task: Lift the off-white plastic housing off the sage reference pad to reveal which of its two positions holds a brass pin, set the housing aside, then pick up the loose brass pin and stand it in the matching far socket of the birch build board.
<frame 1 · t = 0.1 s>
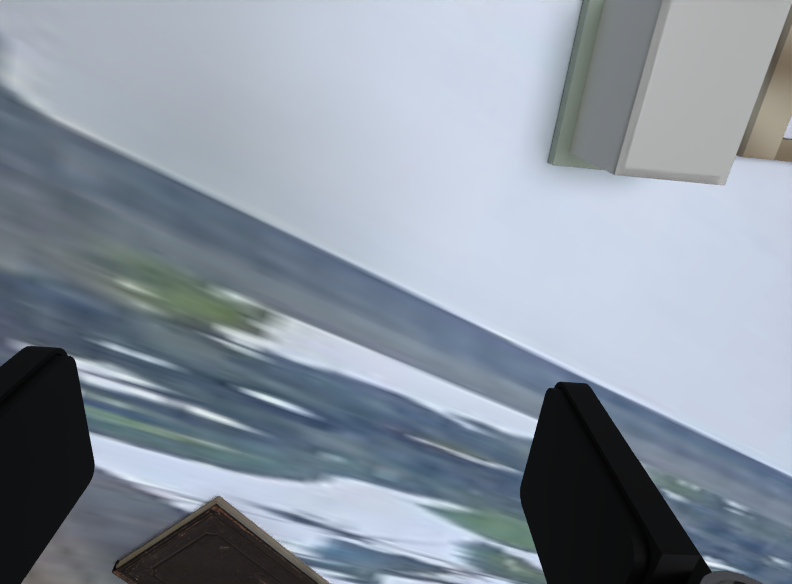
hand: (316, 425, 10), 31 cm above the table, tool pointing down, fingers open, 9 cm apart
housing: (633, 85, 36), point 1 cm above the table, touching reference pad
reference pad: (626, 85, 37), on the table
hardcover book: (244, 577, 59), on the table
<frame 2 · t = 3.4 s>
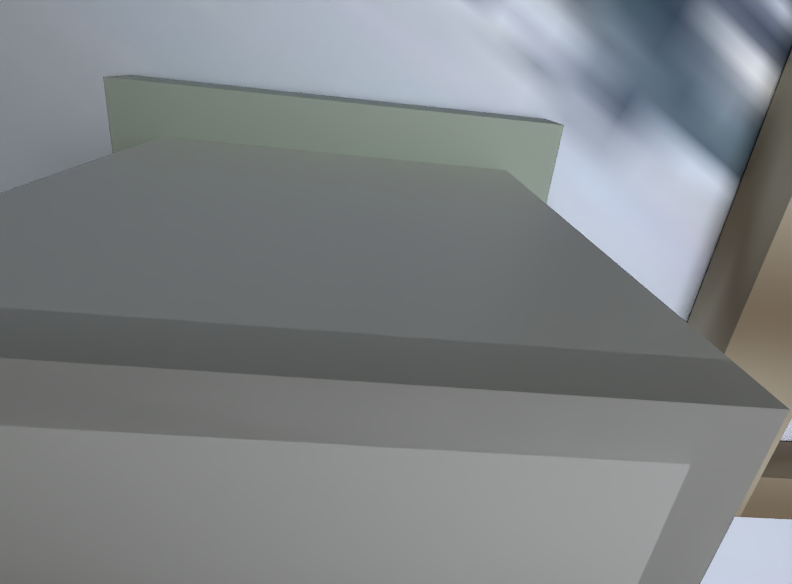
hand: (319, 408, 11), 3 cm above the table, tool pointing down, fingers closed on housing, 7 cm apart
housing: (327, 362, 12), point 1 cm above the table, touching gripper, reference pad
reference pad: (331, 337, 13), on the table
when the fingers open (3 cm above the table, at t = 8.9 s): housing drops 1 cm, on the table.
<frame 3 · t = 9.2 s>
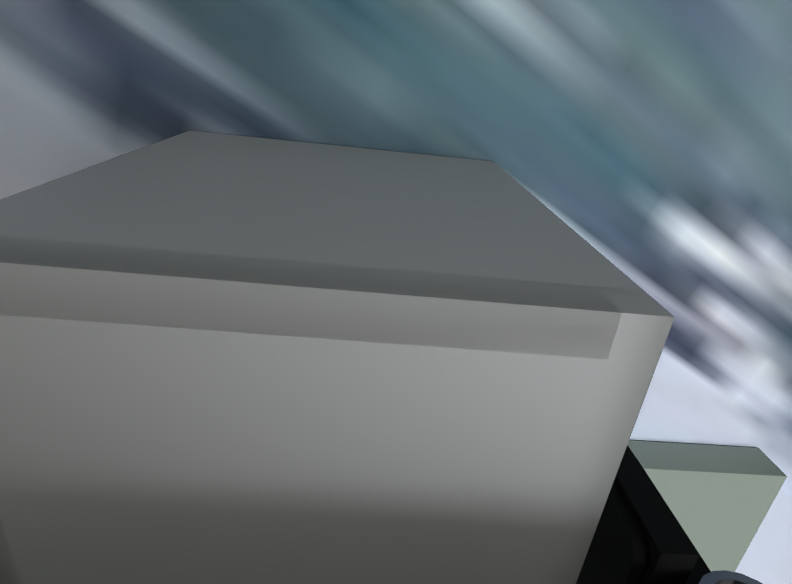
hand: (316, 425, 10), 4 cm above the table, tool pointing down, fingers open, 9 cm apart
housing: (333, 335, 14), on the table
reference pad: (573, 572, 18), on the table
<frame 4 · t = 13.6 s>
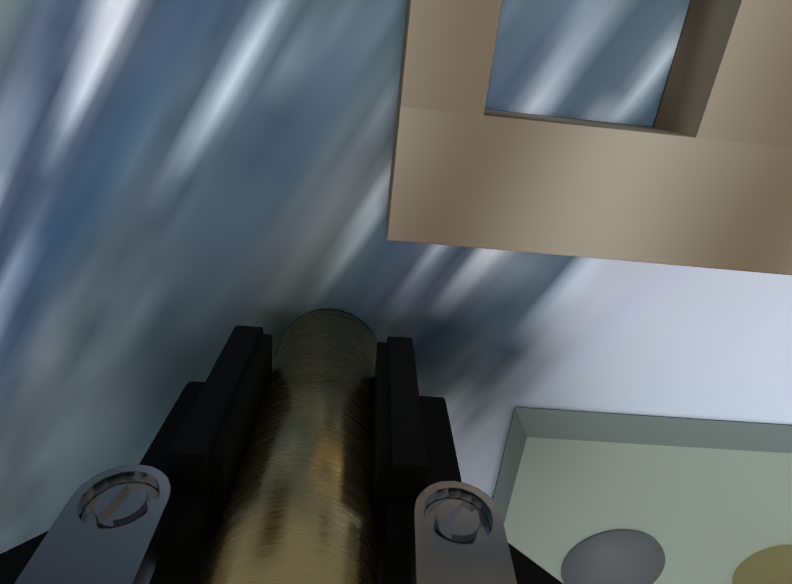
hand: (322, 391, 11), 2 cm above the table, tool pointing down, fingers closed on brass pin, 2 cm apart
brass pin: (329, 352, 13), on the table, touching gripper
build board: (756, 30, 10), on the table
reference pad: (672, 534, 16), on the table
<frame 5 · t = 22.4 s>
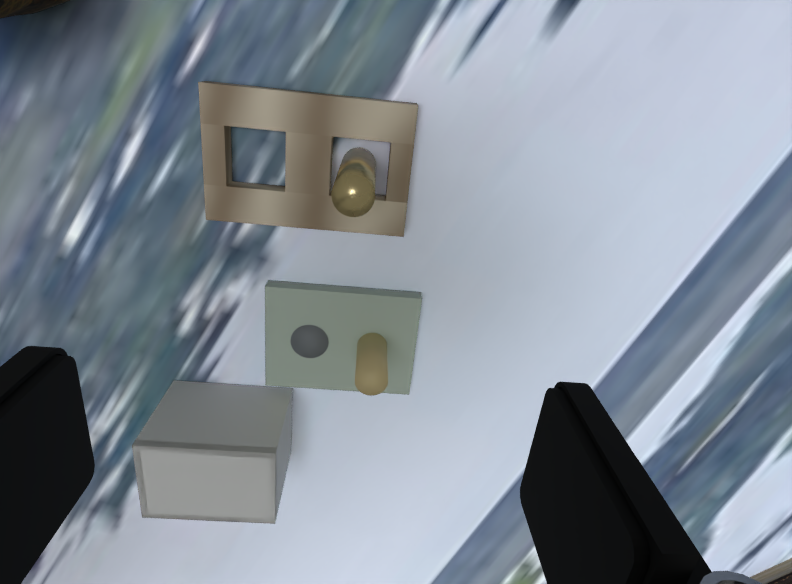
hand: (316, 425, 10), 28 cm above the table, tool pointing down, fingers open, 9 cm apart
brass pin: (358, 164, 36), resting in build board
housing: (234, 417, 45), on the table
build board: (310, 160, 36), on the table
reference pad: (342, 336, 42), on the table
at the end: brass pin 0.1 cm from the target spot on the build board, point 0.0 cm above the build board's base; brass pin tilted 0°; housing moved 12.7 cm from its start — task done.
